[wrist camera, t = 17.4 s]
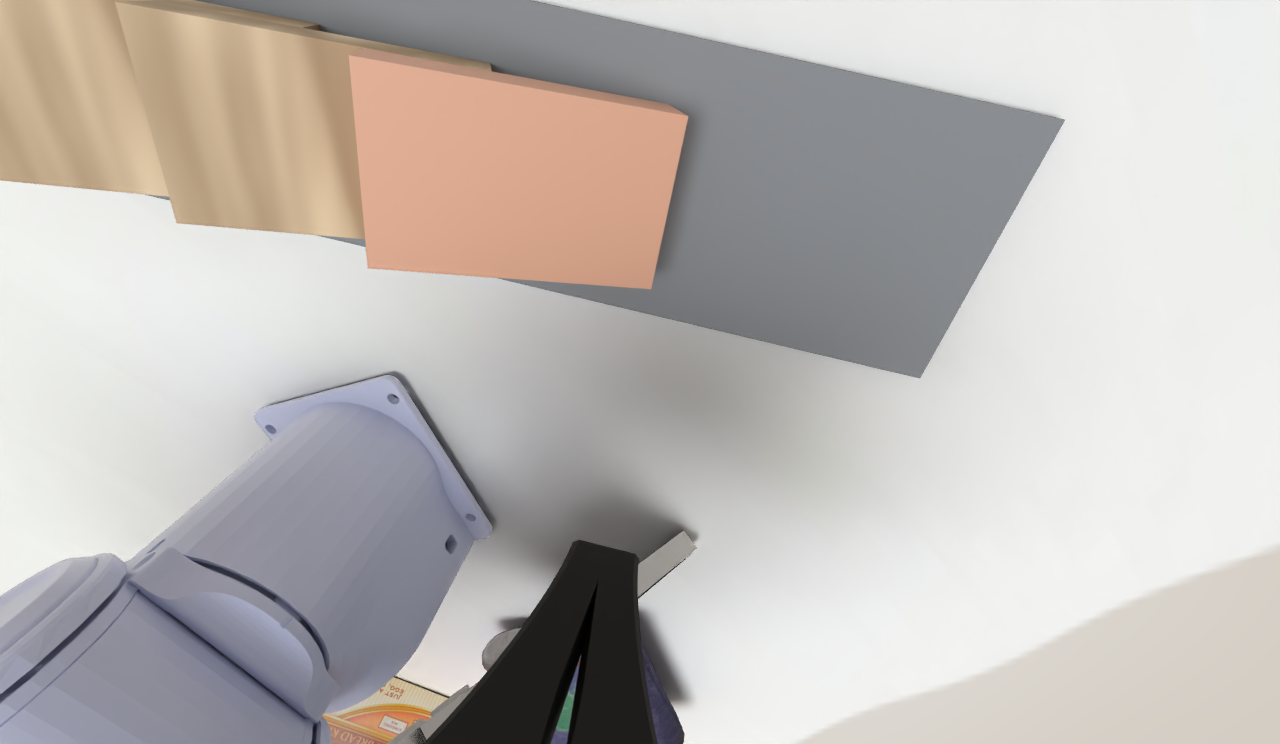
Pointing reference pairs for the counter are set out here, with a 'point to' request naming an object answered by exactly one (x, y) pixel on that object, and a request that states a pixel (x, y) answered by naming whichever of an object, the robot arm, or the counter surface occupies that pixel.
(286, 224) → the domino
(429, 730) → the smartphone
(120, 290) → the counter surface
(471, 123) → the domino
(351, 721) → the coffeecake box
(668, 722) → the navy pouch
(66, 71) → the domino
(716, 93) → the mat
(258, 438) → the counter surface
